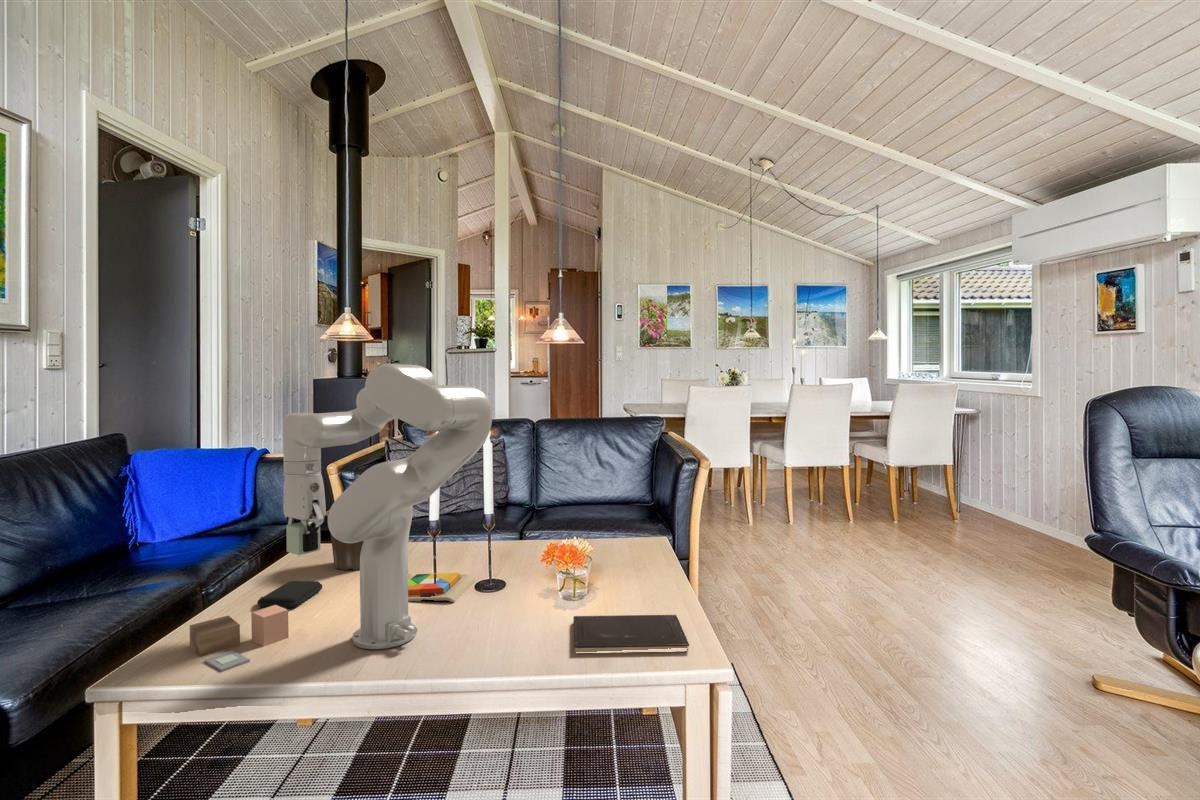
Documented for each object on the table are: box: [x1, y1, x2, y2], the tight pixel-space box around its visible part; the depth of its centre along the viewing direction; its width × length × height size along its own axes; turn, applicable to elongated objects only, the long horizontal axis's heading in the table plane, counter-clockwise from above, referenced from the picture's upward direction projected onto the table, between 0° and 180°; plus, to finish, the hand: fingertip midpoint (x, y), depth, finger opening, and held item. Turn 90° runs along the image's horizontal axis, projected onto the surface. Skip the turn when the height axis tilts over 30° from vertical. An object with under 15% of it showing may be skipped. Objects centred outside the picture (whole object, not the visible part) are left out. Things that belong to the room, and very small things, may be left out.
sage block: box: [285, 521, 321, 556], centre depth 136 cm, size 5×5×6 cm
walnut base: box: [189, 615, 241, 658], centre depth 123 cm, size 7×7×4 cm
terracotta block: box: [250, 605, 290, 647], centre depth 127 cm, size 5×5×6 cm
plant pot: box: [325, 509, 364, 571], centre depth 178 cm, size 16×16×16 cm
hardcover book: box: [573, 614, 690, 653], centre depth 128 cm, size 16×23×2 cm
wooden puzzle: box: [408, 572, 476, 603], centre depth 157 cm, size 18×19×4 cm
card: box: [203, 649, 251, 672], centre depth 116 cm, size 7×5×1 cm
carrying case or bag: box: [256, 580, 323, 610], centre depth 150 cm, size 11×3×15 cm
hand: (303, 547), depth 136 cm, fingers closed on sage block, 4 cm apart
